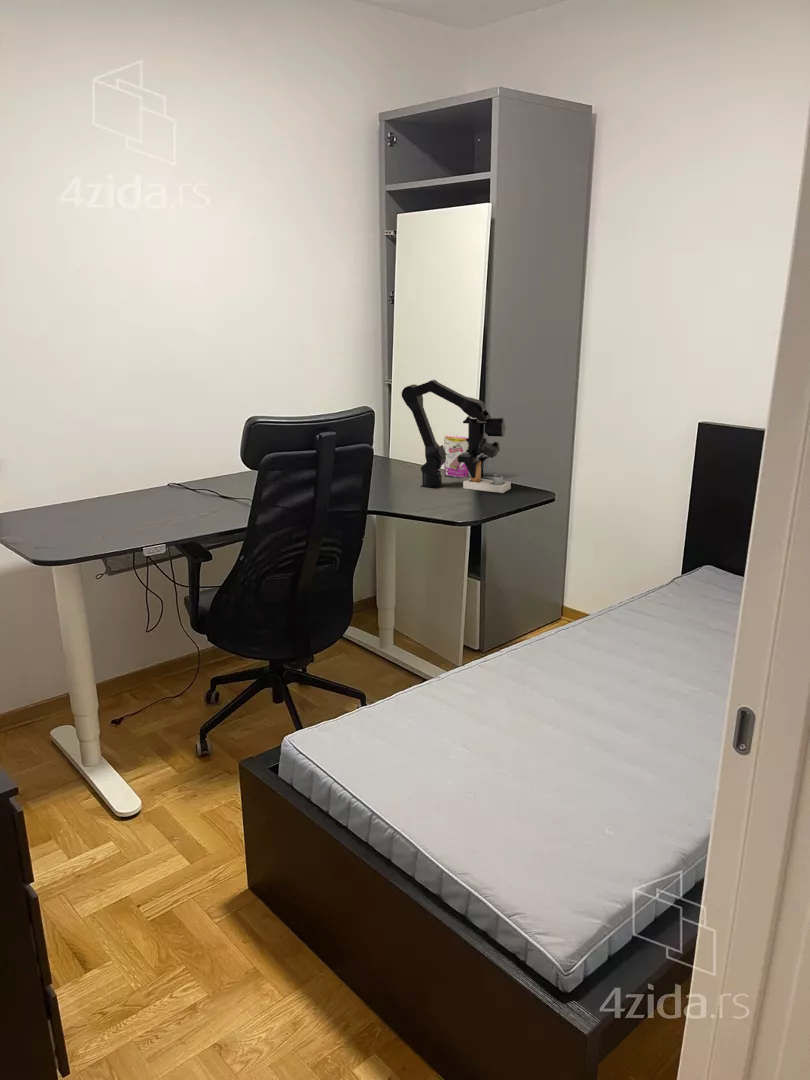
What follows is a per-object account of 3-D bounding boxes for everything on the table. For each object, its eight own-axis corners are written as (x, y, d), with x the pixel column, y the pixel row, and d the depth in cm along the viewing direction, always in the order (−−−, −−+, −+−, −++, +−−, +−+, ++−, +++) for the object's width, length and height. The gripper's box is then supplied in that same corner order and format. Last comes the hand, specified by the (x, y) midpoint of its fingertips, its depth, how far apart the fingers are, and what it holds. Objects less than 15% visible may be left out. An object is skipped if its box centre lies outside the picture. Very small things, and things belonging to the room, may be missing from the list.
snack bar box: (443, 476, 315) (443, 436, 310) (449, 474, 319) (449, 434, 314) (468, 479, 309) (468, 438, 304) (474, 477, 313) (474, 436, 308)
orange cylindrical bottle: (478, 483, 291) (478, 459, 288) (469, 482, 292) (469, 458, 289) (482, 481, 293) (482, 457, 291) (473, 480, 295) (473, 456, 292)
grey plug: (491, 490, 288) (491, 474, 287) (495, 488, 291) (495, 472, 290) (500, 491, 287) (500, 475, 285) (504, 489, 290) (504, 473, 288)
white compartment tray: (463, 490, 293) (463, 481, 292) (471, 486, 298) (471, 477, 297) (502, 495, 285) (502, 486, 284) (510, 491, 290) (510, 482, 289)
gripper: (485, 441, 276) (484, 485, 281) (506, 433, 291) (506, 474, 296) (456, 439, 281) (456, 481, 286) (479, 430, 297) (479, 471, 301)
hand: (475, 477), depth 292 cm, fingers closed on orange cylindrical bottle, 3 cm apart
